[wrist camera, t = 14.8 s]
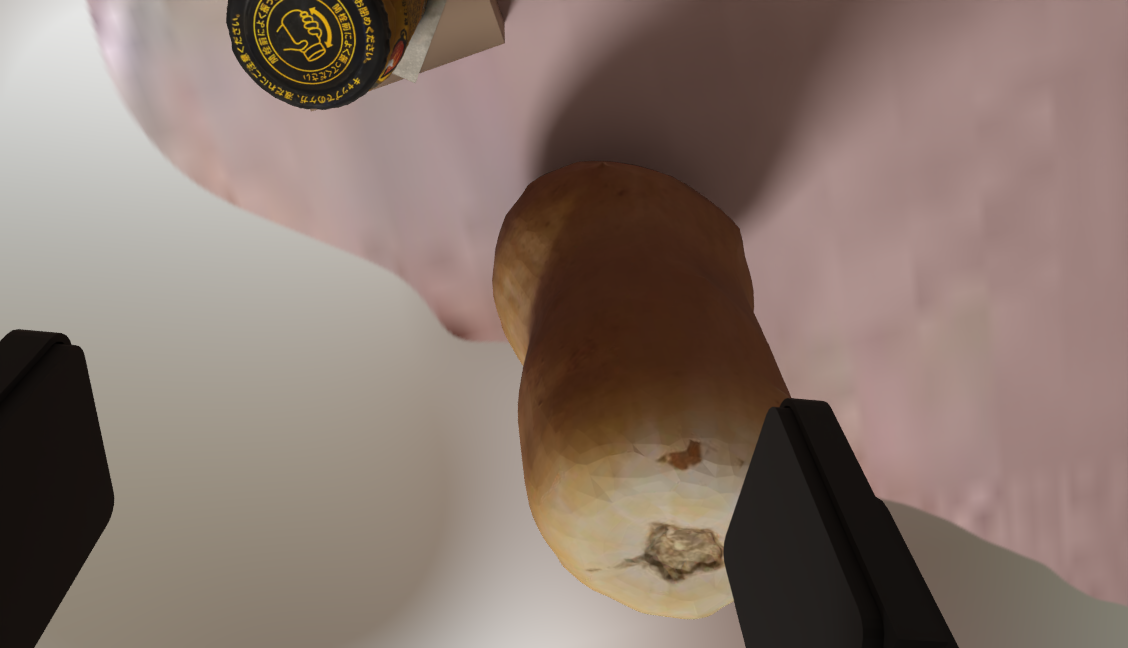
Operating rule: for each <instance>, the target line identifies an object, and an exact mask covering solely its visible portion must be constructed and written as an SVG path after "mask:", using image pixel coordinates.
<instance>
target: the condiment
mask: <svg viewBox="0 0 1128 648" xmlns="http://www.w3.org/2000/svg"><path fill="white" fill-rule="evenodd" d="M446 1H447V0H228V6H227V18H226V23H227V27H228V29H229V35H230V38H231V41H232V50H233V53H234V55H235V56H236V58H237V60H238V62H239V63H240V65H241V66H242V68H243V69H244V70H245V72H246V73H247V74H248V75H249V76H250V77H251V78H252V79H253V80H254V81H255V82H256V83H257V84H258V85H259V86H260V87H261V88H262V89H264V90H265V91H266V92H268V93H269V94H271V95H272V96H274V97H275V98H277V99H279V100H281V101H284V102H286V103H288V104H290V105H292V106H296V107H299V108H304V109H320V110H326V109H330V108H339V107H341V106H344V105H348V104H350V103H351V102H354V101H355V100H357V99H358V98H360V97H361V96H363V95H365V94H366V93H367V92H368V91H370V90H372V89H373V88H376V87H377V86H378V85H379V84H381V83H382V82H383V81H384V80H386V79H387V78H389V77H390V75H391V73H393V74H395V75H397V76H400V77H402V78H404V79H407V80H409V81H411V82H414V83H416V80H417V77H418V75H419V72H420V69H421V67H422V64H423V62H424V59H425V56H426V54H427V51H428V48H429V46H430V43H431V40H432V38H433V35H434V32H435V30H436V27H437V25H438V22H439V19H440V17H441V14H442V11H443V9H444V6H445V3H446Z"/></svg>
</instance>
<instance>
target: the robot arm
mask: <svg viewBox="0 0 1128 648" xmlns="http://www.w3.org/2000/svg"><path fill="white" fill-rule="evenodd" d="M113 506H114V492H113V487H112V483H111V478H110V473H109V469H108V464H107V459H106V454H105V450H104V445H103V440H102V436H101V431H100V426H99V422H98V417H97V412H96V407H95V402H94V398H93V393H92V388H91V383H90V379H89V374H88V369H87V364H86V360H85V355H84V352H83V350H82V349H81V348H80V347H79V346H76V345H71V342H70V340H69V338H68V337H67V336H66V335H64V334H62V333H54V332H43V331H31V330H21V329H18V330H12V331H11V332H10V333H8V334H7V335H6V336H5V337H4V338H3V339H2V340H1V341H0V648H34V647H35V645H36V644H37V642H38V640H39V639H40V637H41V635H42V634H43V632H44V630H45V629H46V627H47V625H48V623H49V622H50V620H51V619H52V617H53V615H54V613H55V612H56V610H57V608H58V607H59V605H60V603H61V602H62V600H63V598H64V597H65V595H66V593H67V591H68V590H69V588H70V586H71V585H72V583H73V581H74V580H75V577H76V576H77V575H78V573H79V571H80V570H81V568H82V566H83V564H84V563H85V561H86V559H87V558H88V556H89V554H90V553H91V551H92V549H93V548H94V546H95V544H96V542H97V541H98V539H99V537H100V536H101V534H102V532H103V531H104V529H105V527H106V526H107V524H108V522H109V520H110V518H111V514H112V511H113ZM723 556H724V564H725V568H726V572H727V576H728V580H729V584H730V587H731V591H732V595H733V599H734V603H735V607H736V611H737V615H738V619H739V623H740V627H741V630H742V634H743V638H744V642H745V646H746V648H959V647H958V645H957V643H956V641H955V639H954V637H953V635H952V633H951V632H950V630H949V628H948V626H947V624H946V622H945V620H944V618H943V616H942V614H941V612H940V610H939V608H938V606H937V604H936V602H935V600H934V598H933V596H932V594H931V592H930V590H929V588H928V586H927V584H926V583H925V581H924V578H923V577H922V575H921V573H920V571H919V569H918V567H917V565H916V563H915V561H914V559H913V557H912V555H911V553H910V551H909V549H908V547H907V545H906V543H905V541H904V539H903V537H902V535H901V533H900V531H899V529H898V528H897V526H896V524H895V522H894V520H893V518H892V516H891V514H890V512H889V510H888V508H887V507H886V506H885V504H884V503H883V501H882V500H880V499H878V498H877V497H875V495H874V493H873V491H872V489H871V487H870V485H869V483H868V481H867V479H866V477H865V475H864V473H863V471H862V469H861V467H860V465H859V463H858V461H857V459H856V457H855V455H854V453H853V451H852V449H851V447H850V445H849V443H848V441H847V439H846V437H845V435H844V433H843V431H842V429H841V427H840V425H839V423H838V421H837V419H836V417H835V415H834V413H833V411H832V409H831V407H830V406H829V404H828V403H827V402H825V401H817V400H806V399H794V398H786V399H784V400H783V402H782V403H781V405H780V407H771V408H770V409H769V410H768V412H767V414H766V417H765V420H764V423H763V426H762V429H761V432H760V435H759V438H758V441H757V444H756V447H755V450H754V453H753V456H752V459H751V462H750V465H749V468H748V471H747V474H746V477H745V480H744V483H743V486H742V489H741V492H740V495H739V498H738V500H737V503H736V506H735V509H734V512H733V515H732V518H731V521H730V524H729V527H728V530H727V533H726V536H725V540H724V548H723Z"/></svg>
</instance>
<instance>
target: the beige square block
mask: <svg viewBox="0 0 1128 648" xmlns="http://www.w3.org/2000/svg"><path fill="white" fill-rule="evenodd" d="M504 43H505V32H504V20H503V17H502V15H501V12H500V9H499V6H498V3H497V0H447V1H446V3H445V6H444V9H443V11H442V14H441V17H440V19H439V22H438V25H437V27H436V30H435V32H434V35H433V38H432V40H431V43H430V46H429V48H428V51H427V54H426V56H425V59H424V62H423V64H422V67H421V69H420V72H419V73H422V72H424V71H427V70H430V69H433V68H436V67H439V66H441V65H444V64H447V63H450V62H453V61H456V60H458V59H461V58H464V57H467V56H470V55H472V54H475V53H478V52H481V51H484V50H487V49H489V48H492V47H495V46H498V45H501V44H504ZM402 79H404V78H402V77H400V76H397V75H395V74H393V73H391V75H390V77H389V78H387V79H386V80H384V81H383V82H382V83H381V84H379V85H378V86H377V87H376V88H379V87H382V86H385V85H388V84H390V83H393V82H396V81H399V80H402ZM376 88H373V89H376ZM373 89H372V90H373ZM370 91H371V90H370ZM310 110H311V111H314V110H317V109H310Z"/></svg>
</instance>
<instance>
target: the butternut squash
mask: <svg viewBox="0 0 1128 648" xmlns="http://www.w3.org/2000/svg"><path fill="white" fill-rule="evenodd" d="M492 283H493V295H494V300H495V304H496V308H497V312H498V315H499V318H500V320H501V324H502V328H503V331H504V333H505V335H506V337H507V339H508V341H509V343H510V345H511V346H512V348H513V350H514V352H515V353H516V355H517V357H518V359H519V360H520V362H521V363H522V365H523V372H522V377H521V384H520V389H519V399H518V424H519V434H520V444H521V452H522V461H523V470H524V479H525V485H526V490H527V495H528V500H529V505H530V509H531V512H532V515H533V518H534V520H535V522H536V524H537V527H538V529H539V531H540V532H541V534H542V536H543V538H544V539H545V541H546V542H547V544H548V545H549V546H550V548H551V549H552V550H553V552H554V553H555V554H556V555H557V557H558V559H559V560H560V562H561V564H562V565H563V566H564V567H565V568H566V569H567V570H568V571H569V572H570V573H571V574H572V575H573V576H575V577H576V578H577V579H578V580H579V581H580V582H582V583H583V584H585V585H586V586H588V587H589V588H591V589H592V590H594V591H597V592H599V593H601V594H603V595H606V596H608V597H610V598H612V599H614V600H616V601H618V602H620V603H622V604H624V605H626V606H628V607H630V608H632V609H634V610H636V611H638V612H642V613H645V614H650V615H658V616H665V617H673V618H680V619H698V618H704V617H708V616H710V615H712V614H714V613H715V612H717V611H718V610H719V609H721V608H722V607H724V606H726V605H728V604H729V603H731V602H733V601H734V599H733V595H732V591H731V587H730V584H729V580H728V576H727V572H726V568H725V564H724V556H723V548H724V540H725V536H726V533H727V530H728V527H729V524H730V521H731V518H732V515H733V512H734V509H735V506H736V503H737V500H738V498H739V495H740V492H741V489H742V486H743V483H744V480H745V477H746V474H747V471H748V468H749V465H750V462H751V459H752V456H753V453H754V450H755V447H756V444H757V441H758V438H759V435H760V432H761V429H762V426H763V423H764V420H765V417H766V414H767V412H768V410H769V409H770V408H771V407H780V405H781V403H782V402H783V400H784V399H786V398H791V396H790V394H789V391H788V389H787V387H786V384H785V382H784V380H783V378H782V375H781V373H780V370H779V368H778V366H777V363H776V361H775V359H774V356H773V354H772V351H771V349H770V347H769V344H768V343H767V341H766V338H765V336H764V334H763V332H762V329H761V327H760V325H759V323H758V321H757V319H756V316H755V314H754V296H753V294H754V291H753V285H752V280H751V276H750V272H749V269H748V265H747V262H746V258H745V254H744V248H743V242H742V237H741V233H740V229H739V228H738V226H737V225H736V224H735V223H734V222H733V221H732V220H731V219H730V218H729V217H728V216H727V215H726V214H725V213H724V212H723V211H722V210H721V209H719V208H718V207H717V206H716V205H714V204H713V203H712V202H711V201H709V200H708V199H707V198H705V197H704V196H702V195H701V194H700V193H698V192H697V191H695V190H694V189H692V188H691V187H689V186H688V185H686V184H685V183H683V182H681V181H679V180H677V179H675V178H674V177H672V176H669V175H666V174H663V173H660V172H657V171H654V170H651V169H647V168H643V167H640V166H636V165H630V164H624V163H618V162H611V161H584V162H576V163H573V164H570V165H568V166H565V167H563V168H560V169H558V170H555V171H552V172H550V173H547V174H545V175H543V176H541V177H539V178H538V179H536V180H535V181H533V182H532V183H530V184H529V185H528V186H527V188H526V189H525V191H524V192H523V194H522V195H521V197H520V198H519V199H518V200H517V202H516V203H515V204H514V206H513V207H512V208H511V209H510V211H509V212H508V213H507V214H506V217H505V219H504V222H503V224H502V227H501V230H500V233H499V236H498V240H497V245H496V249H495V259H494V269H493V278H492Z"/></svg>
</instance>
